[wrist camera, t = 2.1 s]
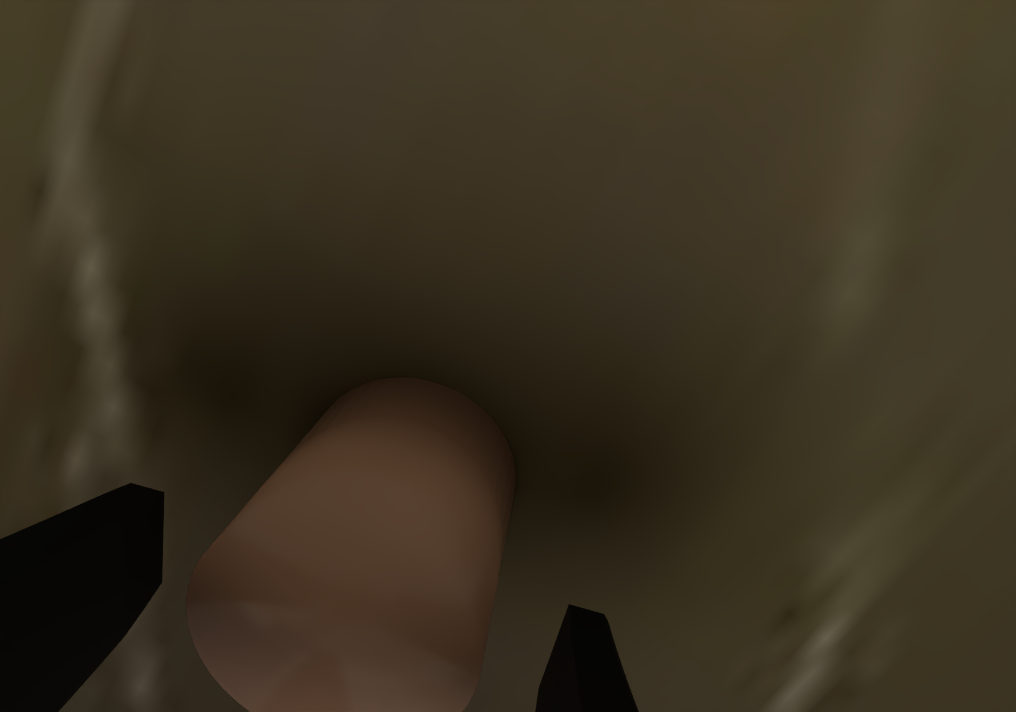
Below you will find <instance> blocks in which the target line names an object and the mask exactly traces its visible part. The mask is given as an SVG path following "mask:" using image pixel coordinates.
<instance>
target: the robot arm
mask: <svg viewBox="0 0 1016 712" xmlns="http://www.w3.org/2000/svg"><path fill="white" fill-rule="evenodd" d="M163 523H164V492H161V491H158V490H154V489H151V488H147V487H143V486H140V485H136V484H133V483H130V484H127V485H125V486H122V487H120V488H117V489H115V490H112V491H110V492H107V493H105V494H103V495H101V496H98V497H96V498H94V499H91V500H89V501H87V502H85V503H82V504H80V505H78V506H76V507H73V508H71V509H69V510H66V511H64V512H62V513H60V514H57V515H55V516H53V517H51V518H48V519H46V520H44V521H42V522H39V523H37V524H35V525H32V526H30V527H28V528H25V529H23V530H21V531H18V532H16V533H14V534H11V535H9V536H7V537H4V538H2V539H0V712H58V711H59V710H60V709H61V708H62V707H63V706H64V705H65V704H66V702H67V701H68V700H69V699H70V698H71V697H72V696H73V695H74V693H75V692H76V691H77V690H78V689H79V688H80V687H81V686H82V685H83V683H84V682H85V681H86V680H87V679H88V678H89V677H90V675H91V674H92V673H93V672H94V671H95V670H96V669H97V667H98V666H99V665H100V664H101V663H102V662H103V661H104V659H105V658H106V657H107V656H108V655H109V654H110V653H111V651H112V650H113V649H114V648H115V647H116V646H117V645H118V643H119V642H120V641H121V640H122V639H123V638H124V636H125V635H126V634H127V632H128V631H129V629H130V628H131V627H132V625H133V624H134V622H135V621H136V620H137V618H138V617H139V615H140V614H141V613H142V611H143V610H144V608H145V607H146V605H147V604H148V602H149V601H150V599H151V598H152V596H153V595H154V594H155V592H156V591H157V589H158V588H159V586H160V585H161V583H162V564H163ZM535 712H639V711H638V709H637V706H636V703H635V701H634V698H633V695H632V693H631V690H630V687H629V684H628V681H627V679H626V676H625V673H624V670H623V667H622V664H621V661H620V658H619V655H618V652H617V649H616V646H615V643H614V640H613V636H612V633H611V630H610V626H609V623H608V620H607V618H606V617H605V615H604V614H602V613H598V612H595V611H591V610H587V609H584V608H580V607H577V606H573V605H569V606H568V608H567V611H566V614H565V617H564V619H563V622H562V625H561V628H560V631H559V633H558V636H557V639H556V642H555V644H554V647H553V650H552V653H551V656H550V658H549V661H548V664H547V667H546V669H545V672H544V675H543V678H542V681H541V683H540V686H539V690H538V697H537V704H536V711H535Z"/></svg>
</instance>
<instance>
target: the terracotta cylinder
mask: <svg viewBox="0 0 1016 712" xmlns="http://www.w3.org/2000/svg"><path fill="white" fill-rule="evenodd" d="M515 490H516V470H515V463H514V459H513V455H512V452H511V449H510V447H509V444H508V442H507V440H506V438H505V436H504V435H503V433H502V431H501V429H500V428H499V427H498V425H497V424H496V423H495V422H494V420H493V419H492V418H491V417H490V416H489V415H488V414H487V413H486V412H485V411H484V410H483V409H482V408H481V407H480V406H479V405H477V404H476V403H475V402H474V401H472V400H471V399H470V398H468V397H466V396H465V395H463V394H461V393H460V392H458V391H456V390H454V389H452V388H450V387H447V386H445V385H442V384H439V383H436V382H433V381H429V380H424V379H419V378H410V377H390V378H384V379H378V380H374V381H371V382H367V383H364V384H362V385H360V386H357V387H355V388H353V389H351V390H350V391H348V392H347V393H345V394H344V395H342V396H341V397H340V398H339V399H338V400H336V401H335V402H334V403H333V404H332V405H331V406H330V407H329V409H328V410H327V411H326V412H325V413H324V414H323V416H322V417H321V418H320V419H319V420H318V421H317V423H316V424H315V425H314V426H313V427H312V428H311V430H310V431H309V432H308V433H307V434H306V435H305V437H304V438H303V439H302V440H301V441H300V442H299V444H298V445H297V446H296V447H295V448H294V449H293V451H292V452H291V453H290V454H289V455H288V456H287V458H286V459H285V460H284V461H283V462H282V463H281V465H280V466H279V467H278V468H277V469H276V470H275V472H274V473H273V474H272V475H271V476H270V477H269V479H268V480H267V481H266V482H265V483H264V484H263V486H262V487H261V488H260V489H259V490H258V491H257V492H256V494H255V495H254V496H253V497H252V498H251V499H250V501H249V502H248V503H247V504H246V505H245V506H244V508H243V509H242V510H241V511H240V512H239V513H238V515H237V516H236V517H235V518H234V519H233V520H232V522H231V523H230V524H229V525H228V526H227V527H226V529H225V530H224V531H223V532H222V533H221V534H220V536H219V537H218V538H217V539H216V540H215V541H214V543H213V544H212V545H211V546H210V547H209V548H208V550H207V551H206V552H205V553H204V555H203V556H202V557H201V558H200V560H199V562H198V563H197V565H196V567H195V569H194V571H193V573H192V576H191V579H190V582H189V585H188V590H187V597H186V616H187V621H188V627H189V631H190V634H191V637H192V640H193V643H194V646H195V648H196V650H197V652H198V654H199V656H200V658H201V660H202V661H203V663H204V664H205V666H206V667H207V669H208V670H209V672H210V674H211V675H212V676H213V677H214V678H215V680H216V681H217V682H218V683H219V684H220V686H221V687H222V688H223V689H224V690H225V691H226V692H227V693H228V694H229V695H230V696H231V697H232V698H233V699H234V700H236V701H237V702H238V703H239V704H241V705H242V706H243V707H244V708H246V709H247V710H248V711H249V712H462V711H463V710H464V709H465V708H466V706H467V705H468V703H469V701H470V700H471V698H472V697H473V695H474V692H475V690H476V687H477V685H478V682H479V677H480V672H481V667H482V662H483V657H484V652H485V646H486V641H487V636H488V631H489V625H490V620H491V615H492V610H493V605H494V599H495V594H496V589H497V584H498V578H499V573H500V568H501V563H502V558H503V552H504V547H505V542H506V537H507V532H508V526H509V521H510V516H511V511H512V505H513V500H514V495H515Z"/></svg>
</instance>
